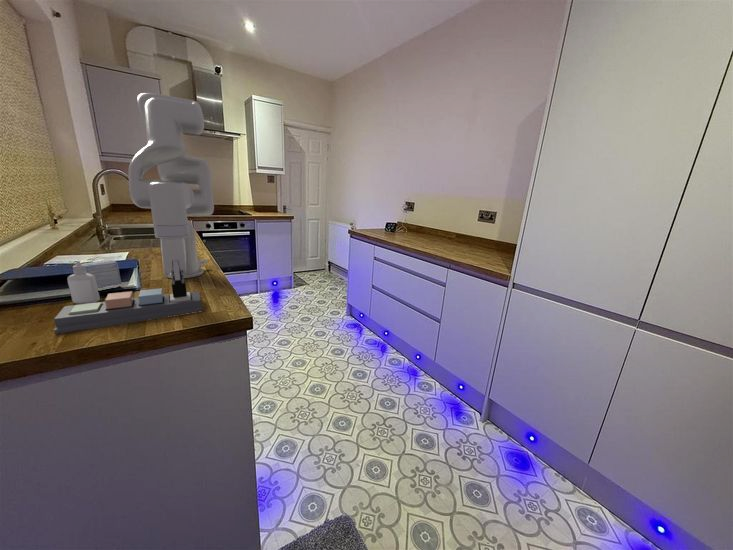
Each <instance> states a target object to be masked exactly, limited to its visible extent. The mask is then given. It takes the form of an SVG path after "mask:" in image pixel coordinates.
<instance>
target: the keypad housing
mask: <svg viewBox="0 0 733 550" xmlns="http://www.w3.org/2000/svg"><path fill="white" fill-rule="evenodd" d="M189 292H190V297H191V300H187V301H179V302H171V303H170V294H171V293H170V294H163V302H161V303H153V304H145V305H140V303H139V297H133V299H134V300H133V303H132V306H129V307H121V308H113V309H107V308H106V303H105V301H100V302H101V303H102V307H101V309H100V311H99V312H91V313H83V314H75V315H70V312H71V310H72V309H73V308H74V306H75V305H76V304H73V305H66V306H65V305H64V306H63V308H62V309H61V310H60V311H59V312H58V313H57V315H56V316H55V317H54V319H53V321H54V325H55V328H54V329H53V331H54V334H55V335H56V334H62V333H63V334H64V333H70V332H77V330H78V331H82V330H83V331H84V330H89V329H96V328H105V327H109V326H119V325H124V324H132V323H137V321H139V322H144V321H143V320H146V321H150V320H149V319H152V320H158V319H157V318H159V319H163V318H162V317H166V318H169V317H168V316H173V317H175V316H174V315H180V316H182V315H181V314H186V313H192V312H199V311H202V312H203V307H202V301H201V299H202V298H201V294H200V291H197V290H196V291H189ZM186 315H187V314H186Z"/></svg>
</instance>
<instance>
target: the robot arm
mask: <svg viewBox="0 0 733 550" xmlns="http://www.w3.org/2000/svg"><path fill="white" fill-rule="evenodd" d="M136 101H137V106H138V110H139V112H140V115H141V117H142V119H143V122H144V123H145V128H146V130H145V131H146V142H147V143H146V145H145V146H144V147H142V148H141V149H140V150H139V151H137V153H135V155H134V156H133V157H132V158H131V160H130V162H129V165H128V173H127V174H128V187H129V188H128V190H129V196H130V199H131V201H132V203H133V204H134V205H135V206H136V207H138V208H141V209H150V210H151V216H152V224H153V230H154V238H155V239H160V251H161V258H162V267H163V275H164V277H165V278H168V279H171V290H172V294H173V297H174V298H177V297H185V296H187V292H188V291H187V285H186V281H185V279H190V278H195V277H199V276H201V275H203V274H204V269H203V268H201V267H202V266H203V265H206V264H207V263H208V261H207V260H206V259H201V260H199V259H198V251H197V241H196V234H195V232H196V231H195V227H194V225H193V224H192V223H191V222H190V221H189V219H188V217H189V216H190V217H202V216H203V217H208V216H211V215H213V213H214V211H215V204H214V202H215V201H214V194H213V193H214V192H213V184H212V173H211V168H210V165H209V164H208V162H207V161H206V160H205V159H203V158H200V157H191V156H187V155H186V153H185V152H186V151H185V143H184V140H183V135H182V134H183V133H184V134H189V135H197V136H198V135H202V134H203V132H204V130H205V119H204V114H203V111H202V110H203V109H202V107H201V105H200V103H199V102H198V101H197V100H193V99H187V98H181V97H177V96H171V95H168V94H167V95H166V94H160V93H154V92H142V93H140V94H138V95H137V99H136ZM154 167H157V172H158V173H157V174H158V177H159V178H160V180H159V179H146V178H145V179H143V177H144V175H145V173H146V172H147V171H149V170H150V169H152V168H154ZM191 186H196V187H197V188H198V189H196V188H191Z"/></svg>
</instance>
